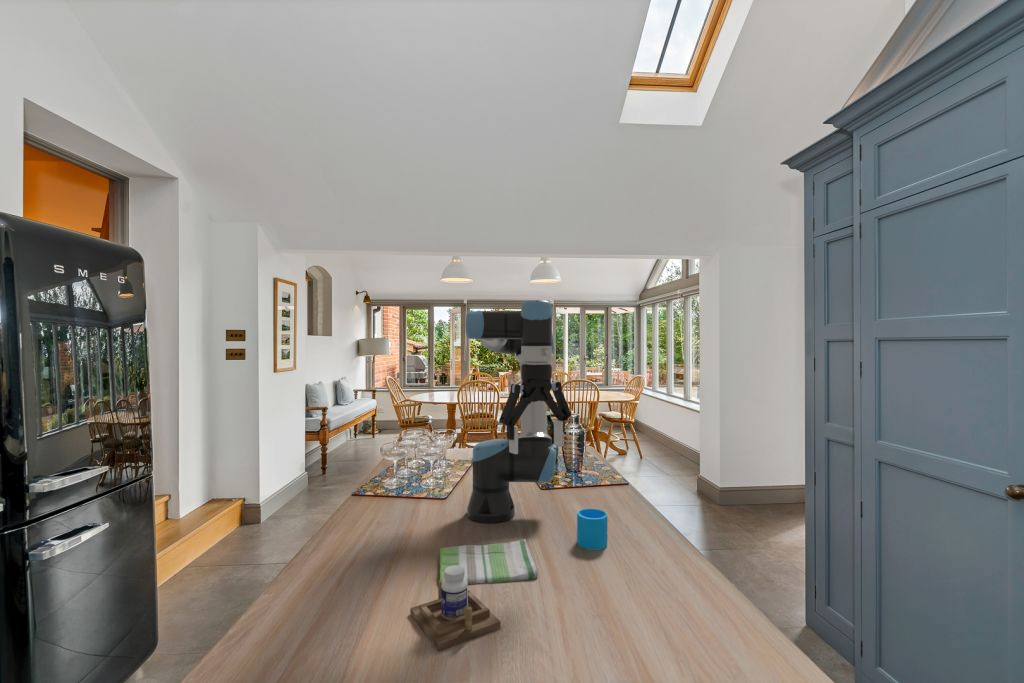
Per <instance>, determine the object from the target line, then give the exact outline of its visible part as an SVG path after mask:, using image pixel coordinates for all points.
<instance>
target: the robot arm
mask: <svg viewBox="0 0 1024 683" xmlns="http://www.w3.org/2000/svg"><path fill="white" fill-rule="evenodd" d="M520 308H521V310H501V311H500V310H474V311H473V310H472V311H468V312H467V313H466V315H465V334H466V338H467V339H470V340H479V341H480V344H482V346H483V347H484V348H486V349H487V350H489V351H492V352H495V353H498V354H503V355H515V359H516V361H517V362H518V363H519V366H520V375H519V376H520V384H517V383H511V384H510V389H509V395H508V397H507V400H506V402H505V405H504V408H503V410H502V412H501V414H500V417H499V419H498V423H500V424H502V425H505V427H506V438H493V439H487V440H483V441H480V442H478V443H476V444H475V445H474V446H473V448H472V457H471V461H472V492H471V495H470V497H469V500H468V503H467V507H466V509H467V510H466V516H467V518H469V520H472V521H473V522H477V523H485V524H494V523H495V524H496V523H502V522H506V521H510V520H511V519H513V518H514V517H515V515H516V514H515V510H516V508H515V507H516V506H515V504H514V500H513V498H512V494H511V491H510V483H537V484H539V483H549V482H551V481H552V480H553V479H554V475H555V470H556V462H557V452H558V451H557V450H558V449H557V448H558V447H559V448H563V447H564V433H565V431H566V423H565V422H567V421H568V420H569V418H571V417H572V412H571V409H570V407H569V404H568V402H567V399H566V397H565V394H564V392H563V389H562V387H563V386H562V382H561V381H555V380H554V381H552V380H551V379H552V378H553V368H552V367H553V366H552V364H550V363H551V362H552V361H553V360H552V359H553V358H552V357H553V356H552V355H553V354H554V352H555V344H554V343H555V342H554V336H553V335H554V334H553V330H552V328H553V325H552V324H553V323H552V317H553V310H552V303H551V302H550V301H549V300H545V299H543V300H540V299H535V300H534V299H532V300H530V299H529V300H524V301H522V303H521V307H520ZM551 391H552V394H553V395H552V394H551ZM553 396H554V397H553ZM554 399H555V400H556V401H555V400H554ZM518 400H519V401H518ZM547 407H548V408H549V410H550V411H551V413H552V414H553V415H554V416H555V418H556V419H553V438H552V437H551V435H549V434H548V421H547V420H548V416H547ZM519 420H520V434H519V426H517V422H518V421H519Z"/></svg>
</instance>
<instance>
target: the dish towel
mask: <svg viewBox="0 0 1024 683" xmlns="http://www.w3.org/2000/svg"><path fill="white" fill-rule="evenodd" d="M455 565H456V566H461V567H463V568H464V572H465V575H464V578H465V579H466V580H467V582H468V585H477V583H480V584H489V583H490V584H494V583H495V584H496V583H510V582H518V581H527V580H535V579H536V578H538V577H539V575H538V569H537V567H536V564H535V561H534V559H533V557H532V555H531V552H530V550H529V548H528V543H527V539H525V538H523V539H520V540H516V541H510V542H504V543H503V542H502V543H491V544H490V543H489V544H483V545H476V544H475V545H473V544H470V545H469V544H467V545H466V544H465V545H456V546H455V545H453V546H446V547H444V546H443V547H440V548H439V581H440V580H444V579H445V578H444V571H445V569H446V568H447V567H449V566H455Z"/></svg>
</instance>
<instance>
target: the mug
mask: <svg viewBox="0 0 1024 683" xmlns="http://www.w3.org/2000/svg"><path fill="white" fill-rule="evenodd" d="M576 519H577V520H576V532H577V533H576V543H577V545H578V546H579V547H580V548H583V549H586V550H592V551H594V550H595V551H597V550H599V551H600V550H603V549H605V548H606V547H608V513H607V512H606V511H604V510H602V509H598V508H582V509H579V510H577V513H576Z"/></svg>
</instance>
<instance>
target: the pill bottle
mask: <svg viewBox="0 0 1024 683" xmlns="http://www.w3.org/2000/svg"><path fill="white" fill-rule="evenodd" d="M464 575H465V572H464V568H463V567H461V566H456V565H455V566H449V567H447V568H446V569H445V571H444V578H445V579H444V580H443V582H442V584H441V614H442V616H443V618H445V619H446V620H452V619H455V618H458V617H461V616H464V615H465V608H466V607H468V590H469V588H468V587H469V586H468V585H469V584H468V582H467V580H466V579H465V578H464Z"/></svg>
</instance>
